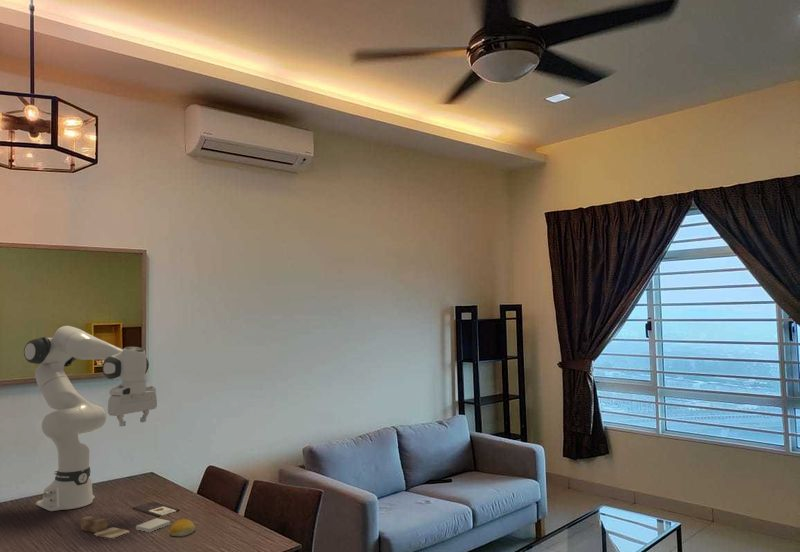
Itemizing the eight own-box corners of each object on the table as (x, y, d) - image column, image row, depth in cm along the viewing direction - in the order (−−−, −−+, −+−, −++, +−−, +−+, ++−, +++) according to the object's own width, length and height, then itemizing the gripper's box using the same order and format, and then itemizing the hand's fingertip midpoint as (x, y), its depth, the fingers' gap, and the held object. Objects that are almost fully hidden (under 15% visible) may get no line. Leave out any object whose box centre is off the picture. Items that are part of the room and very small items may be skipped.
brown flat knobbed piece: (75, 531, 207) (76, 520, 207) (93, 525, 213) (94, 514, 213) (111, 539, 198) (112, 527, 199) (129, 533, 205) (129, 521, 205)
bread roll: (169, 538, 199) (170, 526, 199) (170, 530, 207) (170, 518, 208) (195, 535, 202) (195, 523, 202) (194, 526, 210) (194, 515, 211)
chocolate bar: (153, 501, 239) (179, 509, 228) (153, 503, 238) (179, 512, 228) (132, 507, 231) (158, 516, 221) (132, 509, 231) (158, 518, 221)
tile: (135, 525, 208) (149, 528, 205) (156, 518, 216) (170, 520, 213) (135, 530, 208) (149, 534, 204) (156, 522, 216) (170, 525, 212)
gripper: (150, 385, 239) (149, 419, 238) (105, 390, 221) (104, 427, 220) (160, 385, 237) (160, 420, 236) (116, 391, 218) (115, 429, 217)
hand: (133, 424), depth 228 cm, fingers open, 8 cm apart
